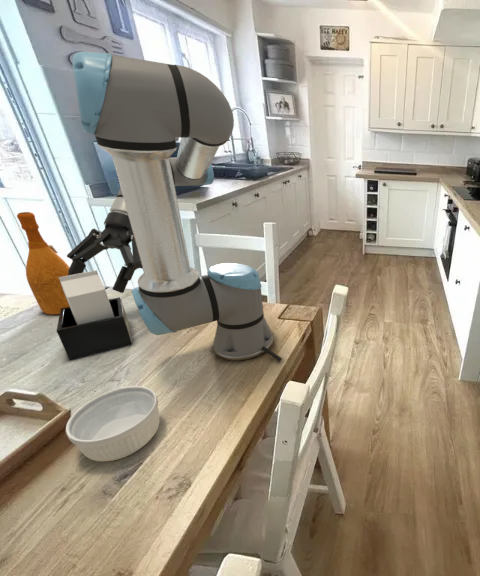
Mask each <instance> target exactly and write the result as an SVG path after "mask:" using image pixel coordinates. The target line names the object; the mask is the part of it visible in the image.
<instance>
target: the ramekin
mask: <svg viewBox="0 0 480 576" xmlns="http://www.w3.org/2000/svg"><path fill="white" fill-rule="evenodd" d="M159 426H160V413H159V399H158V396H157V394H156V392H155V391H154V390H153V389H152V388H149V387H147V386H143V385H128V386H123V387H119V388H115V389H111V390H108V391H106V392H104V393H102V394H100V395H97V396H95V397H93V398H92V399H90V400H88V401H86V402H85V403H84V404H83V405H81V406H80V407H79V408H78V409H76V411H75V412H74V413H73V414H72V415H71V416H70V417H69V419H68V420H67V423H66V425H65V434H66V437H67V439H68V440H69V441H70V442H71V443H72V444H73V445H75V446H76V448H78V450H79V451H80V453H82V454H83V455H84V456H85V457H86V458H88V459H89V460H91V461H94V462H113V461H118V460H121V459H123V458H126V457H128V456H130V455H133V454H135V453H136V452H138V451H139V450H140V449H142V448H144V447H145V446H146V445H147V444H148V443H149V442H150V441H151V440H152V438H153V437H154V436H155V434H156V433H157V431H158V429H159Z"/></svg>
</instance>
